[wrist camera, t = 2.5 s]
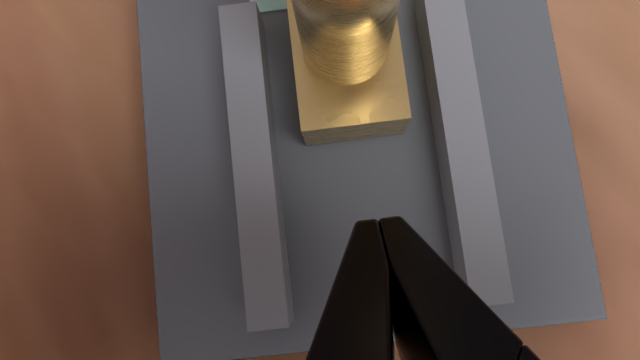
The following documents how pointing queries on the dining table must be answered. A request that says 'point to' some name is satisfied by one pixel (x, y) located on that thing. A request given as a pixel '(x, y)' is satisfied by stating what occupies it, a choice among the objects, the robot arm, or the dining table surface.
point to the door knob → (348, 69)
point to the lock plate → (354, 172)
